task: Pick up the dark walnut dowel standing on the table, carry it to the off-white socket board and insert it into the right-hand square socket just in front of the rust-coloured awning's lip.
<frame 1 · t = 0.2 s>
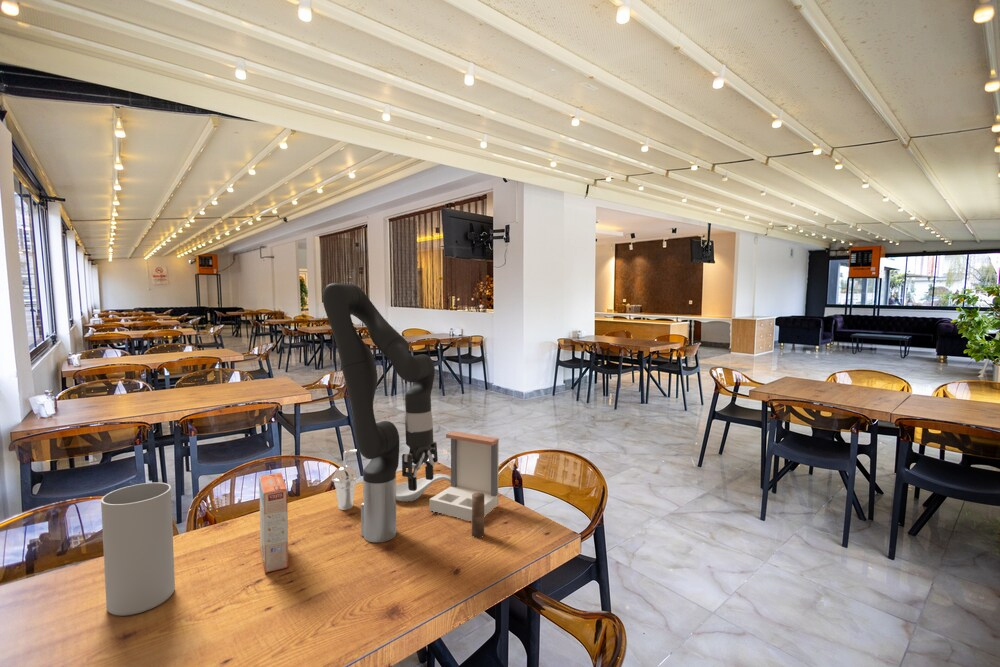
hand: (421, 484, 133), 18 cm above the table, tool pointing down, fingers open, 8 cm apart
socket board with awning: (464, 508, 158), on the table
cup with straw: (346, 507, 158), on the table
cracker box: (274, 559, 127), on the table
cylinder vase: (142, 600, 109), on the table
walnut dowel: (478, 534, 140), on the table
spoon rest: (424, 497, 168), on the table
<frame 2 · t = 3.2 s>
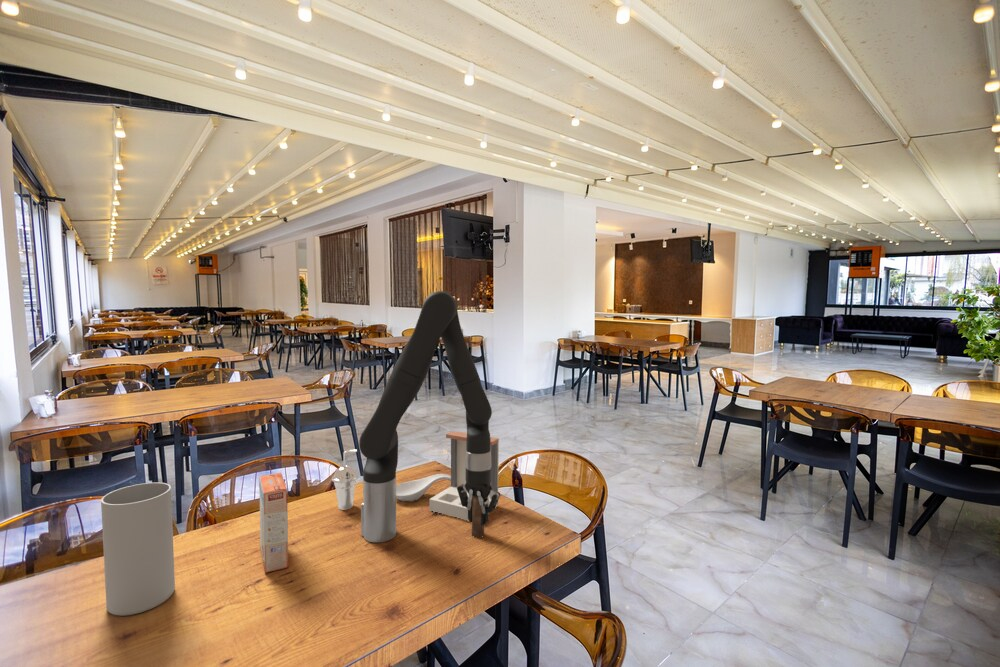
hand: (478, 522, 140), 4 cm above the table, tool pointing down, fingers closed on walnut dowel, 3 cm apart
walnut dowel: (478, 534, 140), on the table, touching gripper
when the fingers open (6 cm above the table, at t = 7.9 s): walnut dowel drops 2 cm, resting in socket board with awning.
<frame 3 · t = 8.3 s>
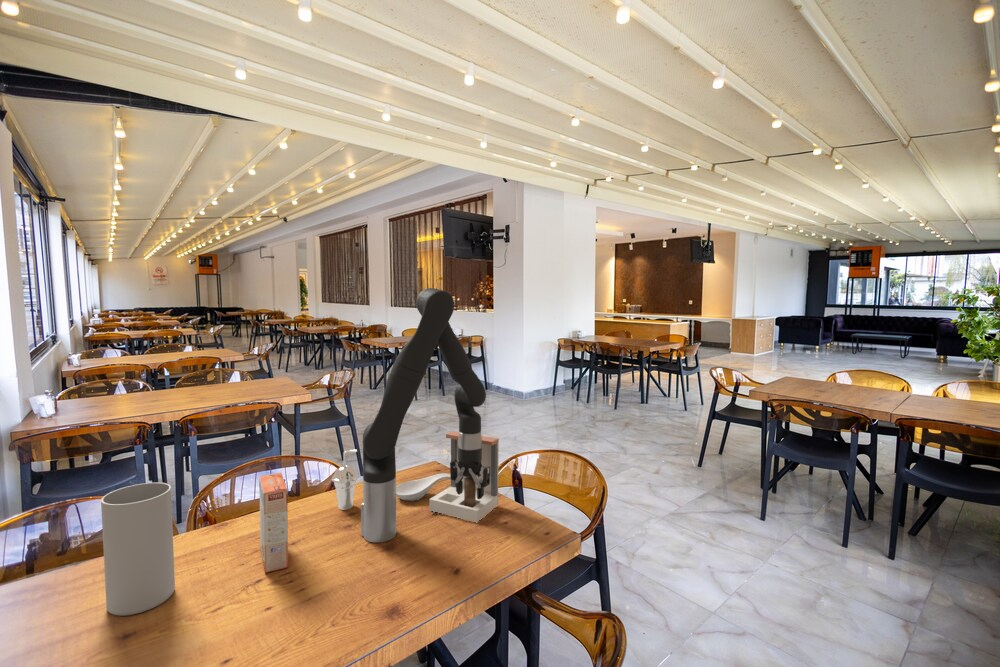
hand: (469, 495, 153), 6 cm above the table, tool pointing down, fingers open, 7 cm apart
walnut dowel: (469, 514, 153), resting in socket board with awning
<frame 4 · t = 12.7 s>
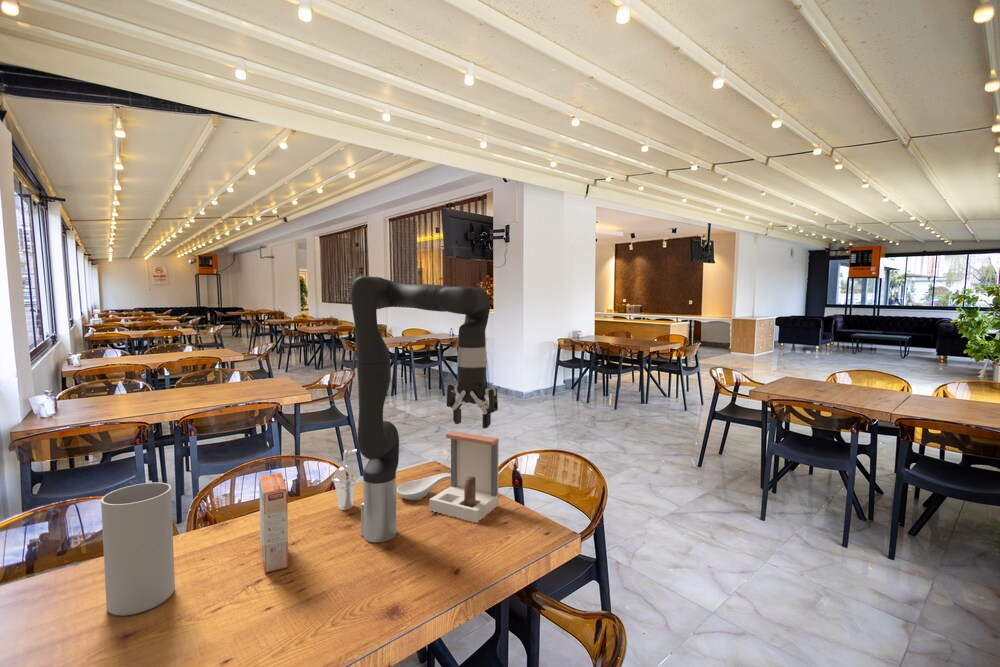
hand: (471, 425, 125), 36 cm above the table, tool pointing down, fingers open, 8 cm apart
at the end: walnut dowel 0.0 cm from the target spot on the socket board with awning, point 0.0 cm above the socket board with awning's base; walnut dowel tilted 0°; the gripper is holding nothing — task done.
